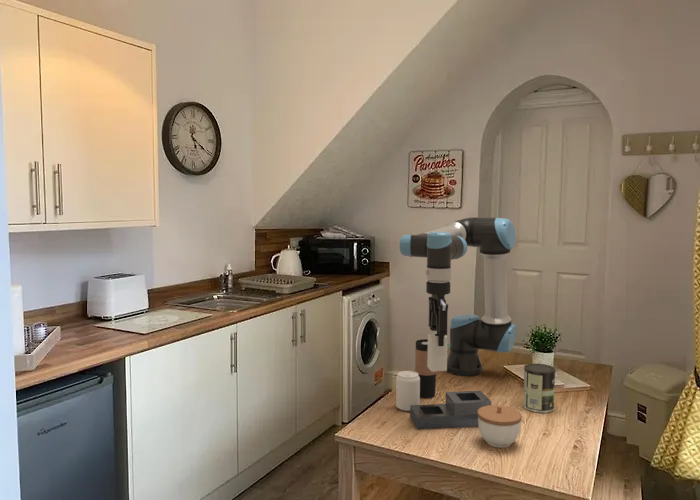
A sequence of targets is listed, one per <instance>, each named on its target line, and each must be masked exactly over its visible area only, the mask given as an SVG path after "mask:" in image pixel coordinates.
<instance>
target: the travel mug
mask: <svg viewBox="0 0 700 500" xmlns="http://www.w3.org/2000/svg"><path fill="white" fill-rule="evenodd" d="M414 356H415V358H414V360H415V362H414V372H417V373H418V374H419V375H418V376H419V377H420V399H432V398H435V396H436V386H437V385H436V383H437V371H433V372H432V371H431V370H430V369H429V368H428V367H427V356H428V338H427V339H423V338H422V339H417V340H416V341H415V355H414Z"/></svg>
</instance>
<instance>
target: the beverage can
mask: <svg viewBox="0 0 700 500" xmlns="http://www.w3.org/2000/svg"><path fill="white" fill-rule="evenodd" d="M418 375H419V374H418V373H417V372H415V370H414V371H413V370H402V371H399V372H397V376H396V378H395V379H396V381H395V382H396V385H395V386H396V387H395V389H396V390H395V391H396V392H395V398H396V399H395V407H396V408H397V409H399V410H401V411H403V410H404V411H403V412H410V405H421V401H420V400H421V398H420V377H419V376H418Z"/></svg>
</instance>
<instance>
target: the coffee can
mask: <svg viewBox="0 0 700 500" xmlns="http://www.w3.org/2000/svg"><path fill="white" fill-rule="evenodd" d="M523 370H524V371H523V374H524V376H523V406H522V407H524V409H526V410H527V411H530V412H533V413H540V414H541V413H542V414H548V413H551V412H553V411H554V410H555V389H556V388H555V384H556V383H555V382H556V368H555V367H553V366H552V365H549V364H546V363H528V364H527V363H526V364H525V365H524V366H523Z"/></svg>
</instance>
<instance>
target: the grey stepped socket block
mask: <svg viewBox="0 0 700 500" xmlns="http://www.w3.org/2000/svg"><path fill="white" fill-rule="evenodd" d="M488 405H492V400H491V399H490V398H488V397H487V395H486V394H484V392H483V391H482V390H463V391H445V403H433V404H432V403H431V404H420V405H410V411H409V417H410V419H411V421H412V423H413V425H414V427H415V428H416V430H419V431H421V430H436V429H438V430H439V429H455V428H456V429H457V428H472V427H473V428H475V427H478V415H477V412H478V409H479V408H481V407H484V406H488ZM478 428H479V427H478Z"/></svg>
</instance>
